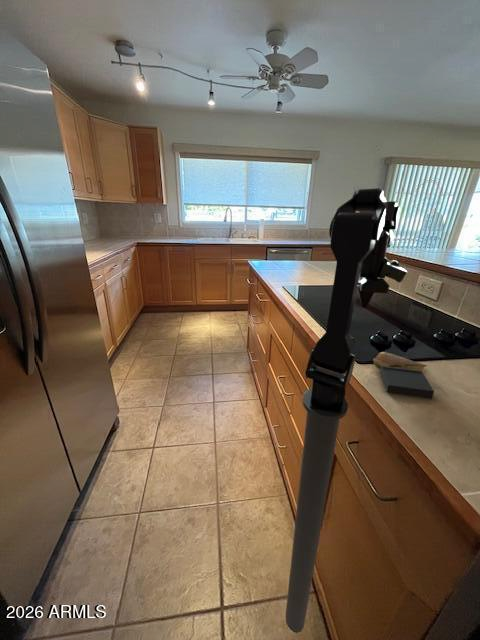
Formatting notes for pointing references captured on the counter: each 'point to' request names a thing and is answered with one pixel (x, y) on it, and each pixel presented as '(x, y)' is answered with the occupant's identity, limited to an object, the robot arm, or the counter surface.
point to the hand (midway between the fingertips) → (364, 307)
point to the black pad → (406, 382)
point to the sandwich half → (396, 361)
